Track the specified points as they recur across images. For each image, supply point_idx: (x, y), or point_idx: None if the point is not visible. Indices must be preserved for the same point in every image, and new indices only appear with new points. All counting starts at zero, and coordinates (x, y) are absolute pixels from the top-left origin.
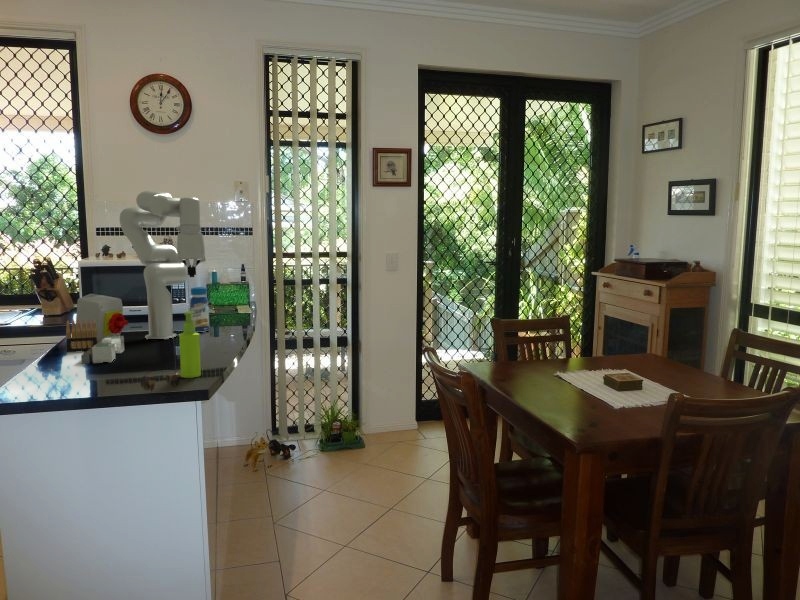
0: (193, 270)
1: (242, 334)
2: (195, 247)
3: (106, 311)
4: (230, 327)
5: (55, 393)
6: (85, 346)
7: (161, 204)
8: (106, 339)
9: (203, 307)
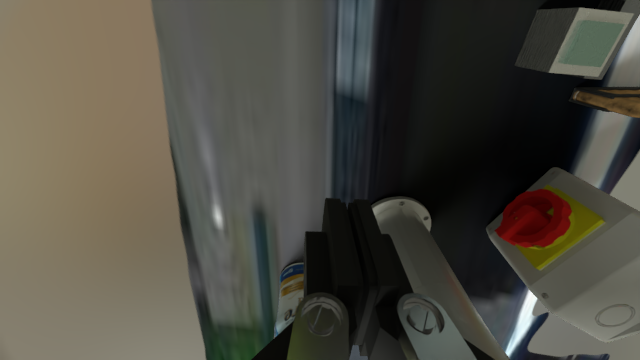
0: (333, 245)
1: (192, 223)
2: None
3: (601, 230)
4: (236, 309)
5: None
6: (617, 91)
7: None
8: None
9: (289, 322)
